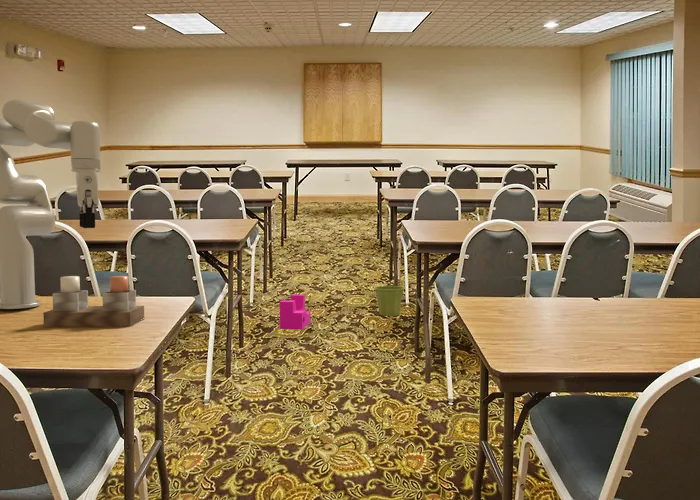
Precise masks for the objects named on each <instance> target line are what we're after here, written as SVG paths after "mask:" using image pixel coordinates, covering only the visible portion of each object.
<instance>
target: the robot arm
mask: <svg viewBox="0 0 700 500" xmlns="http://www.w3.org/2000/svg"><path fill="white" fill-rule="evenodd" d="M1 114H2V116H3V117H2V116H0V204H5V206H2V207H0V310H15V309H16V310H18V309H19V310H20V309H28V308H35V307H39V306H41V305H42V303H41V300H36V284H35V256H34V255H35V254H34V248H33V245H32V244H31V243H30V242H29V240H28V239H27V237H30V236H46V235H49V234H51V233H52V232H53V231H54V229H55V227H56V217H55V212H54V209H53V205H52V202H51V197H50V195H49V192H48V189H47V185H46V184H45V182H44V181H43V180H42V178H40V177H39V176H37V175H31V174H21V173H20V172H18V170H17V167H16V163H15V161H14V159H13V157H12V156H11V154H10V153H9V152H7V150H5V149H4V148H3V147H2V146H1V145H3V146H13V147H21V148H22V147H30V146H32V145H34V144H36V145H39V146H41V147H44V148H51V149H61V150H62V149H63V150H70V163H71V164H70V166H71V167H70V170H71V172H75V181H76V182H75V183H76V198H77V205H78V207H79V227H80V228H83V229H95V228H96V213H95V207H96V208H97V207H99V205H100V203H99V202H100V200H99V182H98V181H99V180H98V173H101V139H100V136H101V135H100V134H101V133H100V131H101V129H100V126H99V124H98V123H96V122H94V121H90V120H89V121H88V120H75V121H72V122H65V121H59V120H56V115H55V114H56V113H55V112H54V110H53V108H52V107H51V106H50V105H49V104H46V103H44V102H39V101H34V100H33V101H32V100H27V99H22V98H21V99H19V98H18V99H17V98H16V99H10V100H7V101H6V102H5V103H4V104H3V106H2V109H1Z"/></svg>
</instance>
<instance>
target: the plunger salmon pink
mask: <svg viewBox="0 0 700 500" xmlns="http://www.w3.org/2000/svg"><path fill="white" fill-rule="evenodd" d="M129 290H130V287H129V276H128V275H113V276H109V291H110V293H127V292H129Z"/></svg>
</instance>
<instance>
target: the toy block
mask: <svg viewBox="0 0 700 500" xmlns="http://www.w3.org/2000/svg"><path fill="white" fill-rule="evenodd" d="M309 324H311V310H306V294H298V293H297V294H295V293H293V294H291V295H290V299H289V300H285V299H284V300H283V299H282V300H280V301H279V329H280V330H298V331H299V330H301V331H302V330H303V329H304V328H306V327H308V326H309Z"/></svg>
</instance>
